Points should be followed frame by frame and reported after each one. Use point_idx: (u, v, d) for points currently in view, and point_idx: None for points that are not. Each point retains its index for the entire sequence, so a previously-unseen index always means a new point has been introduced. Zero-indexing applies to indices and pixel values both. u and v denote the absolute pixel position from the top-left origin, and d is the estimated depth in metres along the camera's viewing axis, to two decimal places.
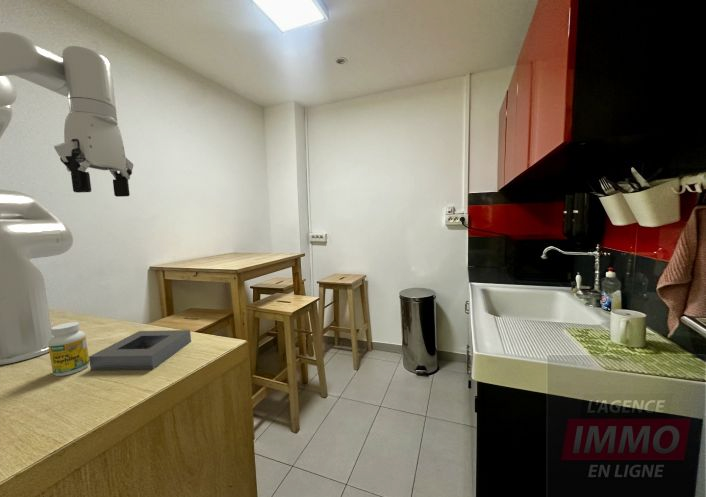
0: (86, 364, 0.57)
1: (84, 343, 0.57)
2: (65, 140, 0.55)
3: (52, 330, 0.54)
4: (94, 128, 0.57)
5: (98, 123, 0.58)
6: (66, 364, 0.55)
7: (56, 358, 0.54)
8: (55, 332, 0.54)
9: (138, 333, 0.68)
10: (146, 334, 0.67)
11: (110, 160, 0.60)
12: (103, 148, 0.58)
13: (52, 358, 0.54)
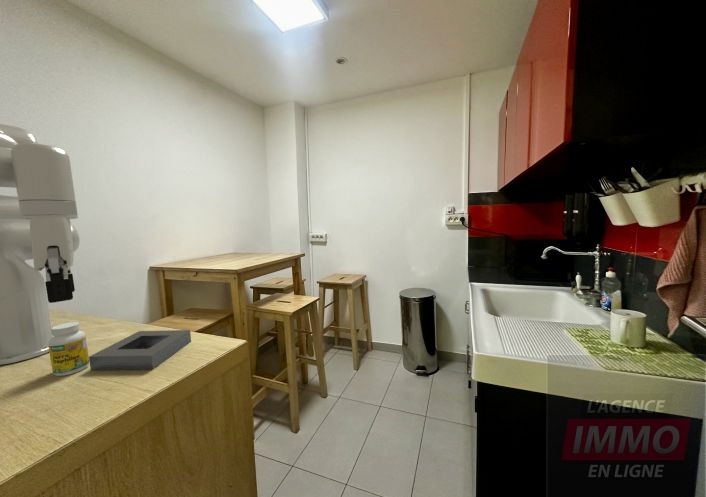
0: (86, 364, 0.57)
1: (84, 343, 0.57)
2: (36, 247, 0.49)
3: (52, 330, 0.54)
4: (69, 230, 0.53)
5: (69, 224, 0.54)
6: (66, 364, 0.55)
7: (56, 358, 0.54)
8: (55, 332, 0.54)
9: (138, 333, 0.68)
10: (146, 334, 0.67)
11: None
12: (72, 249, 0.55)
13: (52, 358, 0.54)
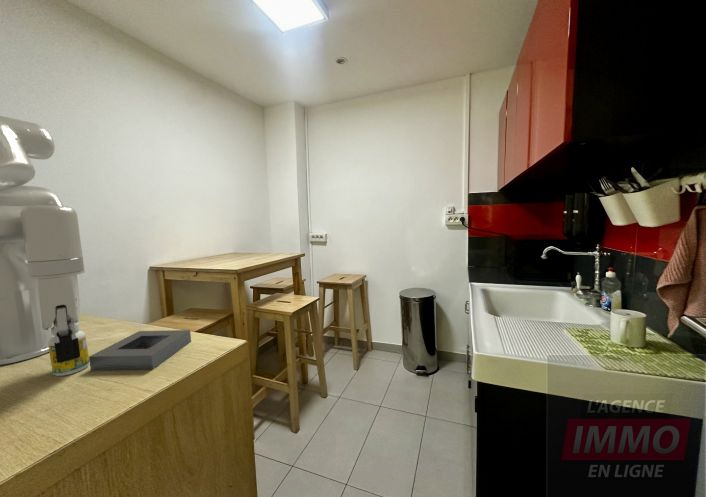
0: (86, 364, 0.57)
1: (84, 343, 0.57)
2: (44, 308, 0.51)
3: (52, 330, 0.54)
4: (76, 287, 0.55)
5: (76, 280, 0.55)
6: (66, 364, 0.55)
7: None
8: None
9: (138, 333, 0.68)
10: (146, 334, 0.67)
11: (79, 312, 0.57)
12: (79, 304, 0.56)
13: (52, 358, 0.54)
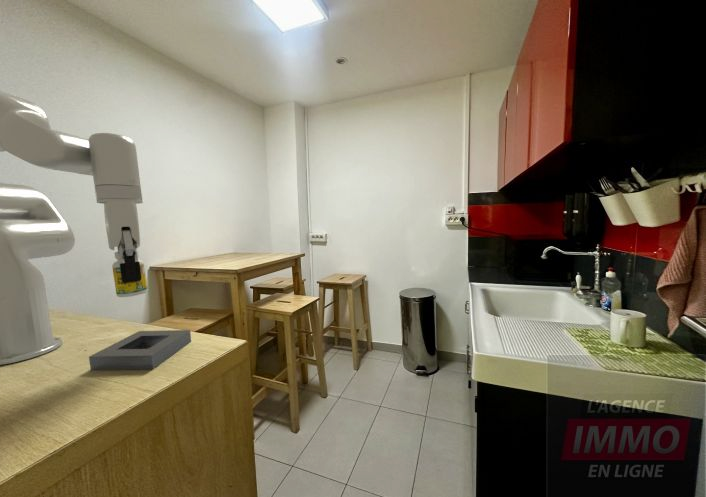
0: (145, 289, 0.61)
1: (143, 269, 0.61)
2: (112, 228, 0.54)
3: (116, 253, 0.58)
4: None
5: (136, 208, 0.59)
6: (129, 286, 0.58)
7: (120, 279, 0.57)
8: (119, 255, 0.58)
9: (138, 333, 0.68)
10: (146, 334, 0.67)
11: None
12: None
13: (116, 279, 0.58)
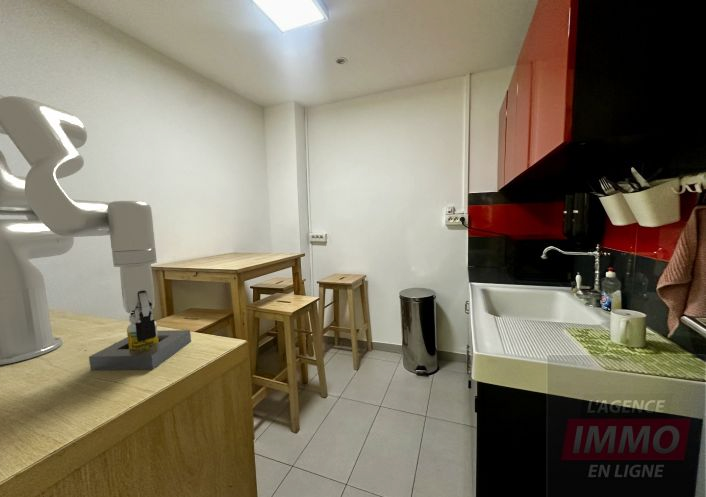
0: None
1: (156, 330, 0.63)
2: (129, 293, 0.56)
3: (131, 318, 0.60)
4: None
5: (151, 269, 0.61)
6: None
7: (135, 343, 0.60)
8: (133, 320, 0.60)
9: None
10: None
11: None
12: None
13: (131, 343, 0.60)
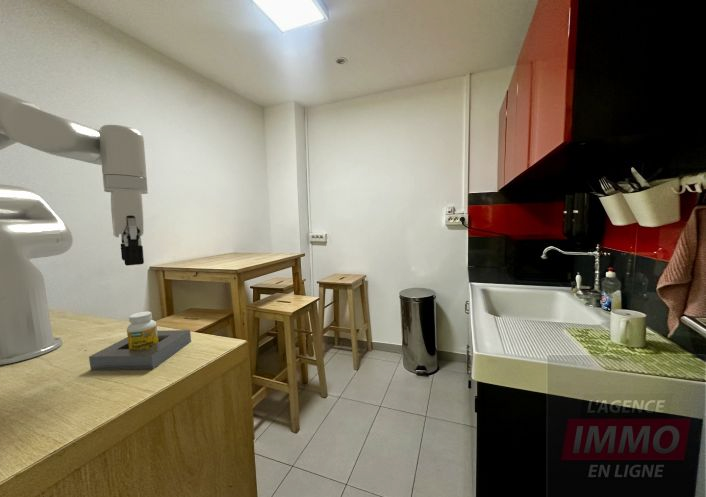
0: None
1: (156, 330, 0.63)
2: (118, 216, 0.57)
3: (131, 318, 0.60)
4: None
5: (141, 198, 0.61)
6: None
7: (135, 343, 0.60)
8: (133, 320, 0.60)
9: None
10: None
11: None
12: None
13: (131, 343, 0.60)
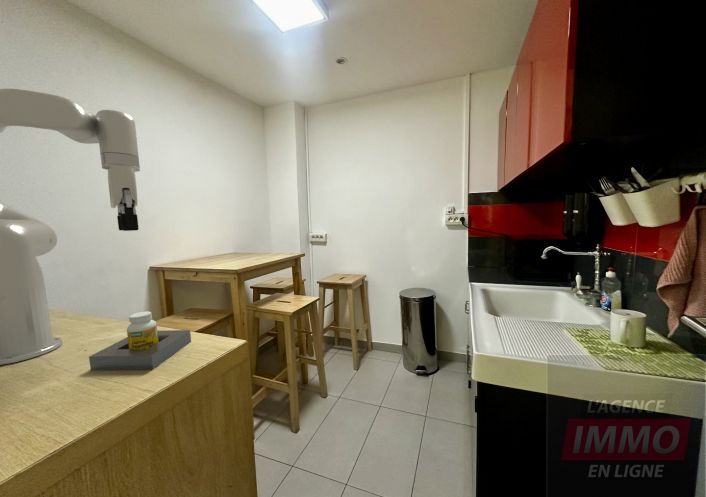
0: None
1: (156, 330, 0.63)
2: (115, 188, 0.66)
3: (131, 318, 0.60)
4: (135, 178, 0.70)
5: None
6: None
7: (135, 343, 0.60)
8: (133, 320, 0.60)
9: None
10: None
11: None
12: None
13: (131, 343, 0.60)
